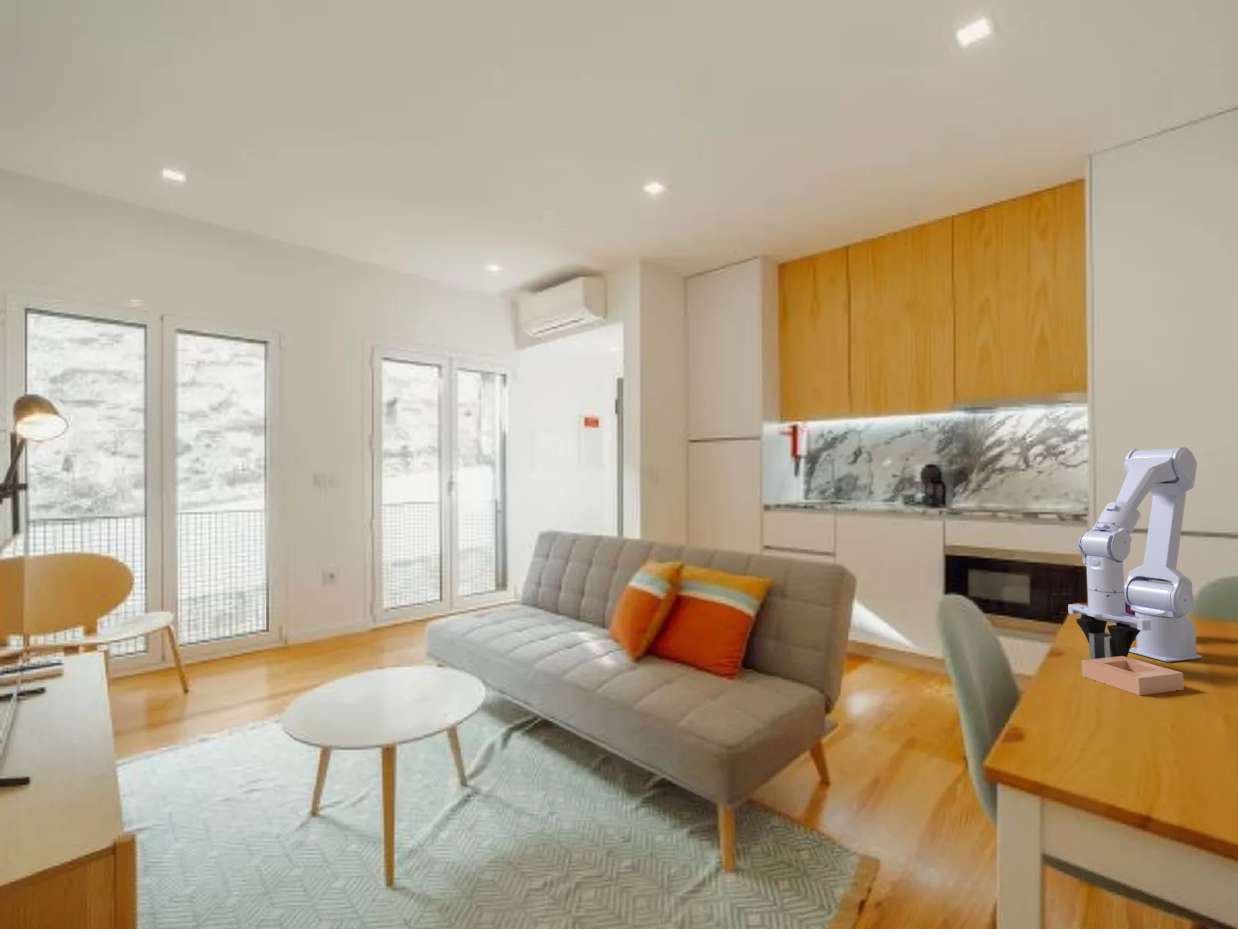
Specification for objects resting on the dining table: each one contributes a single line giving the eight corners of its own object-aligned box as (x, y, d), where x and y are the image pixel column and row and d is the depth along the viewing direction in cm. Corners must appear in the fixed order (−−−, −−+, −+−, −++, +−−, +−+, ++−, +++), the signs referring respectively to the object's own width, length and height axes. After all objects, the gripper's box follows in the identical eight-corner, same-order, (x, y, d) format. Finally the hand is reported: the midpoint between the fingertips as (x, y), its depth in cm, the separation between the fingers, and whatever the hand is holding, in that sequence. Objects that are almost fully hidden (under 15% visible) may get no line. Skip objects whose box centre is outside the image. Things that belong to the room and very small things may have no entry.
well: (1123, 671, 110) (1123, 655, 110) (1183, 689, 101) (1183, 672, 101) (1082, 676, 108) (1081, 660, 108) (1139, 695, 99) (1138, 678, 99)
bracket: (1105, 660, 116) (1104, 631, 116) (1126, 667, 112) (1125, 636, 112) (1090, 662, 115) (1088, 633, 116) (1110, 668, 112) (1109, 638, 112)
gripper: (1055, 584, 121) (1058, 648, 120) (1128, 598, 106) (1132, 670, 106) (1082, 582, 122) (1085, 645, 122) (1158, 596, 108) (1161, 667, 108)
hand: (1108, 657), depth 114 cm, fingers closed on bracket, 4 cm apart
